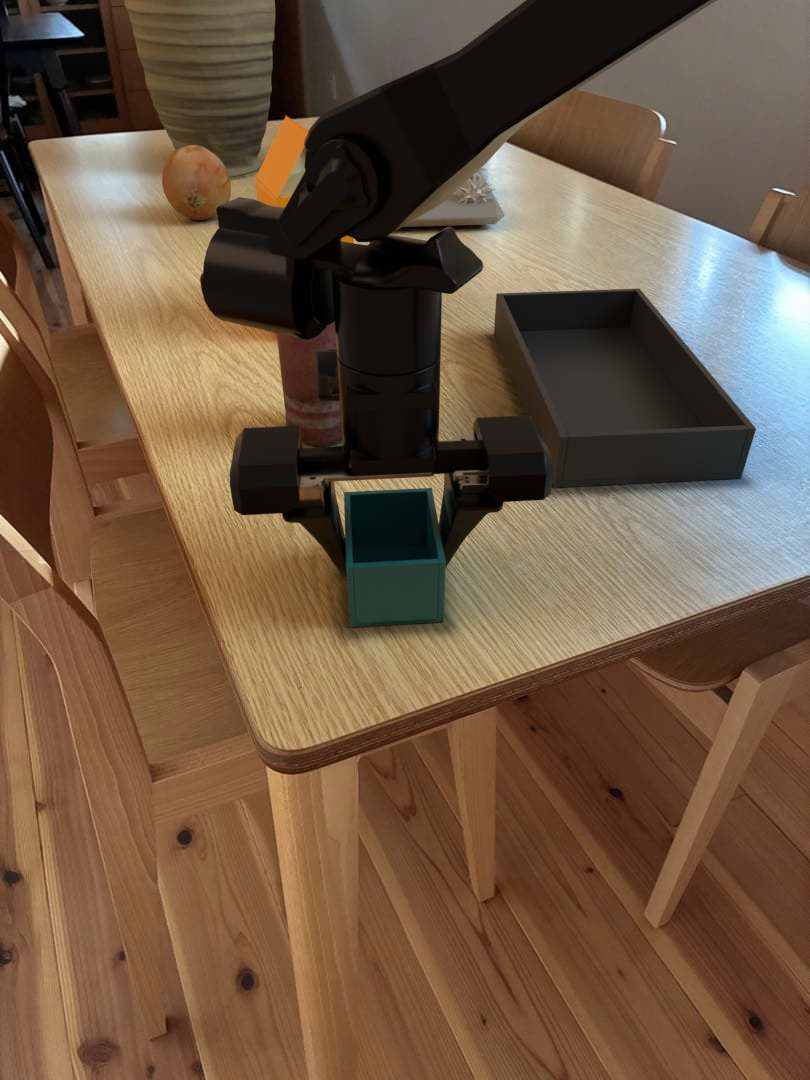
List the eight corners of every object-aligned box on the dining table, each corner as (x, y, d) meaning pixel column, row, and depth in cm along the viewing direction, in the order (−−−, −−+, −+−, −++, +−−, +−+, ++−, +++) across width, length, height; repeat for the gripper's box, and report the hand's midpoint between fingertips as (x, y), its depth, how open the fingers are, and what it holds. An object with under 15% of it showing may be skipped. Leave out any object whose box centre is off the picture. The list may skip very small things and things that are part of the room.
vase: (153, 159, 152) (143, -34, 137) (280, 173, 153) (284, -17, 138) (113, 175, 131) (96, -51, 116) (261, 191, 132) (263, -31, 117)
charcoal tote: (632, 329, 87) (639, 288, 84) (741, 478, 64) (756, 428, 62) (493, 335, 86) (496, 293, 84) (554, 487, 64) (560, 437, 61)
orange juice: (290, 342, 85) (269, 135, 73) (268, 312, 92) (246, 117, 79) (359, 330, 88) (351, 128, 75) (333, 302, 94) (322, 111, 82)
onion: (231, 206, 125) (222, 135, 119) (238, 225, 117) (228, 151, 111) (167, 211, 123) (154, 140, 117) (170, 231, 115) (156, 155, 109)
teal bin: (431, 545, 58) (432, 487, 55) (443, 622, 52) (445, 562, 49) (347, 549, 58) (343, 491, 54) (350, 627, 51) (346, 567, 48)
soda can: (289, 413, 73) (272, 258, 65) (358, 413, 73) (351, 258, 64) (280, 448, 68) (261, 286, 60) (355, 448, 68) (346, 286, 60)
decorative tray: (504, 231, 114) (509, 155, 108) (322, 236, 113) (317, 160, 107) (472, 169, 142) (474, 106, 136) (325, 173, 140) (321, 109, 134)
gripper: (527, 292, 51) (509, 494, 61) (230, 303, 50) (260, 507, 60) (569, 371, 42) (540, 592, 52) (210, 386, 41) (249, 609, 51)
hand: (393, 570), depth 54 cm, fingers closed on teal bin, 6 cm apart
